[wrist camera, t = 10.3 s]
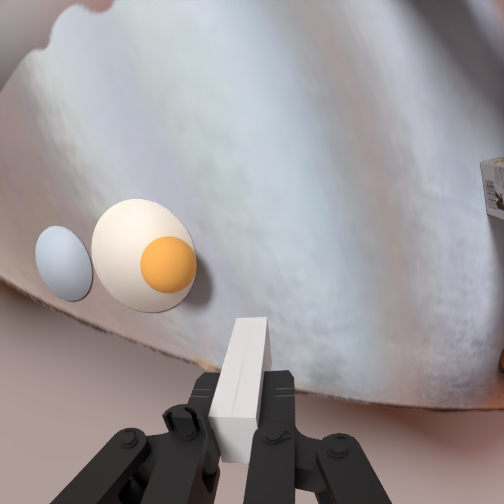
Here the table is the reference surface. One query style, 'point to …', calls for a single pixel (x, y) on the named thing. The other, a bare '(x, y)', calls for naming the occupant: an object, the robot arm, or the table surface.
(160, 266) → the ball
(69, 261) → the pale blue disc
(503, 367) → the bread roll
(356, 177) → the table surface
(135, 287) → the disc
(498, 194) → the coffee box
